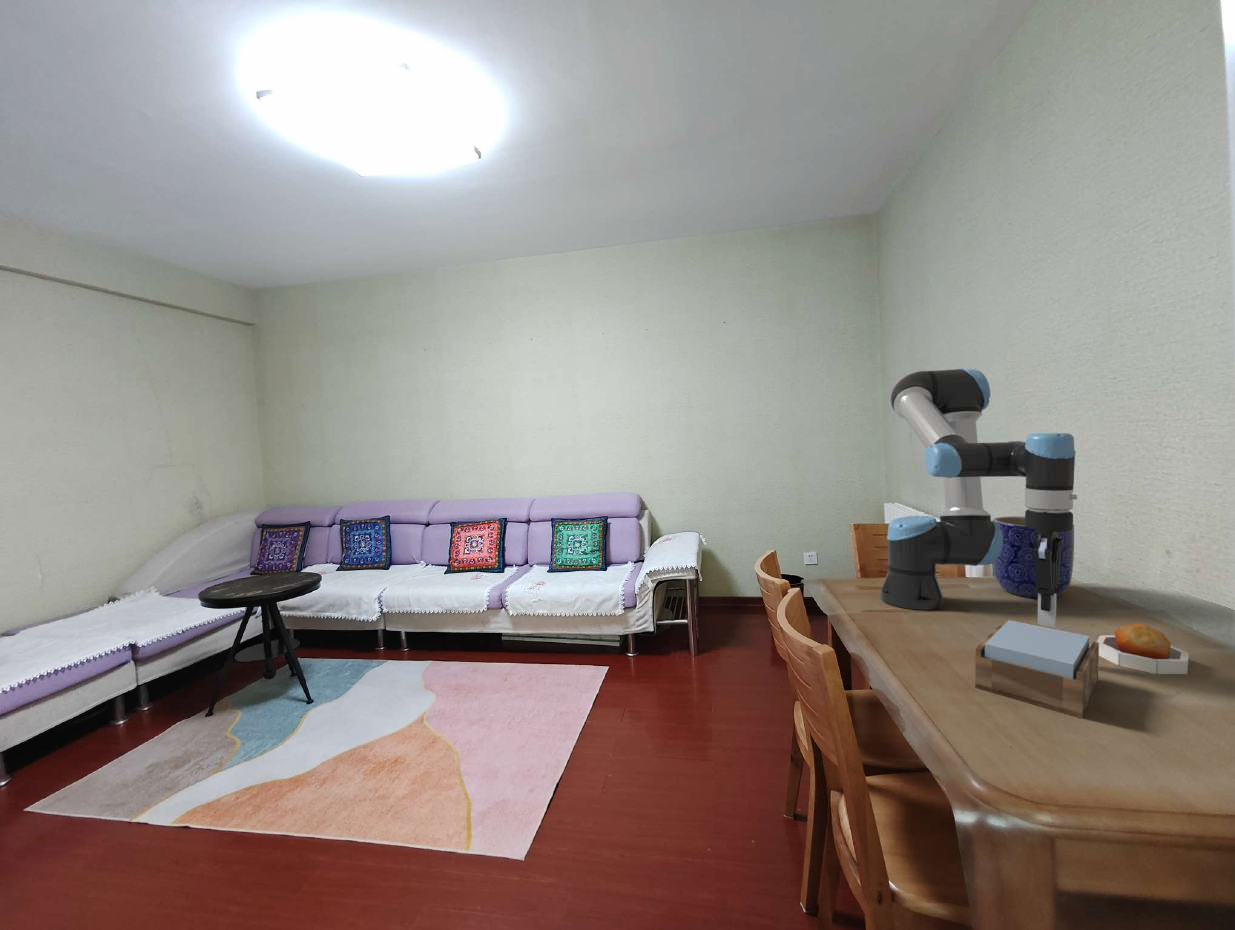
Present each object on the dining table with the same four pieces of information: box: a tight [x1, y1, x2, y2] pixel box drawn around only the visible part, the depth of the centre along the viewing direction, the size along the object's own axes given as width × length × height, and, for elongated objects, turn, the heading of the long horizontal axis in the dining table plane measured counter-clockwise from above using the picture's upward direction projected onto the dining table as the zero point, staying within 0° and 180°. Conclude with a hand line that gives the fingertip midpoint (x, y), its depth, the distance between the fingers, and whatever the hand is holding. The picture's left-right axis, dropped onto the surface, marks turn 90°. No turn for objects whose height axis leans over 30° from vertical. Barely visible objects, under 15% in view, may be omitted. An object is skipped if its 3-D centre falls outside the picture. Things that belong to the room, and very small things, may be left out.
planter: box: [991, 516, 1075, 599], centre depth 151 cm, size 18×18×21 cm
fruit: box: [1114, 623, 1172, 659], centre depth 108 cm, size 8×8×8 cm
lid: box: [985, 619, 1090, 679], centre depth 98 cm, size 17×12×2 cm
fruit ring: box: [1096, 634, 1190, 675], centre depth 108 cm, size 13×13×2 cm
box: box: [974, 622, 1100, 719], centre depth 99 cm, size 18×15×8 cm
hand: (1046, 624), depth 108 cm, fingers closed
